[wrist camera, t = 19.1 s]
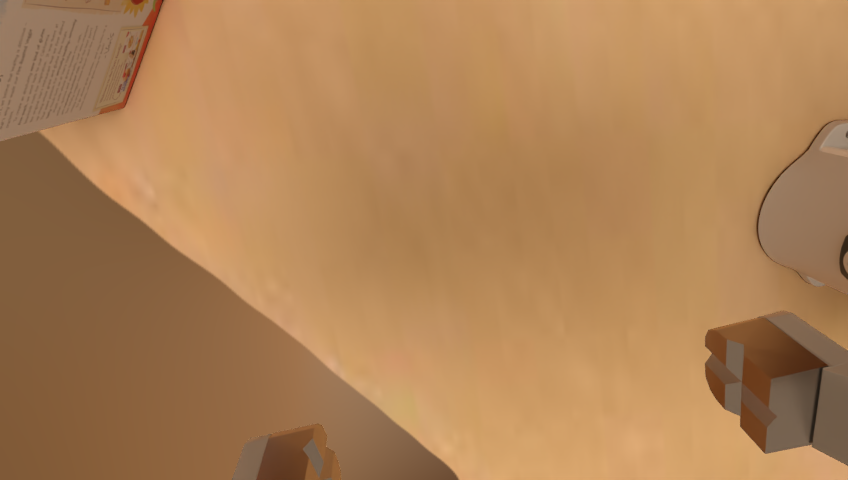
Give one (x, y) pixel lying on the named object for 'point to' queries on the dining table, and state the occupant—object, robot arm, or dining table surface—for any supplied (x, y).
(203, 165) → the dining table surface
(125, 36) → the cracker box
